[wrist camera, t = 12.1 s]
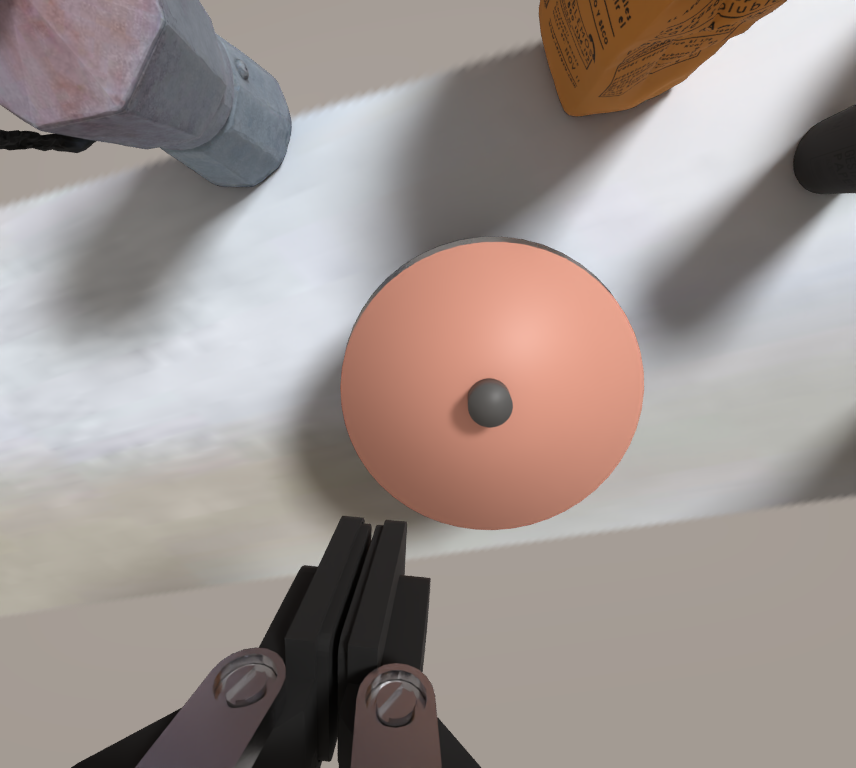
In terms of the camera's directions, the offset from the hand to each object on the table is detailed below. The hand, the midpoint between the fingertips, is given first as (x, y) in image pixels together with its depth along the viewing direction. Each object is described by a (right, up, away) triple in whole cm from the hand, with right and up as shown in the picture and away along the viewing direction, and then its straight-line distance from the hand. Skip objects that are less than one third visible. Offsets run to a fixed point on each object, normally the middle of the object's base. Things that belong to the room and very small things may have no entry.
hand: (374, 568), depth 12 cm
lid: (+5, +4, +16) cm, 17 cm away
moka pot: (-13, +23, +22) cm, 35 cm away
